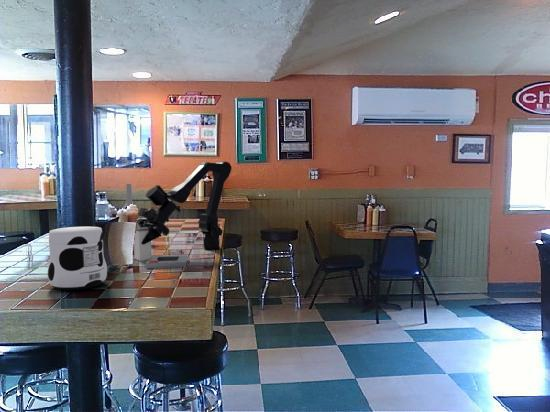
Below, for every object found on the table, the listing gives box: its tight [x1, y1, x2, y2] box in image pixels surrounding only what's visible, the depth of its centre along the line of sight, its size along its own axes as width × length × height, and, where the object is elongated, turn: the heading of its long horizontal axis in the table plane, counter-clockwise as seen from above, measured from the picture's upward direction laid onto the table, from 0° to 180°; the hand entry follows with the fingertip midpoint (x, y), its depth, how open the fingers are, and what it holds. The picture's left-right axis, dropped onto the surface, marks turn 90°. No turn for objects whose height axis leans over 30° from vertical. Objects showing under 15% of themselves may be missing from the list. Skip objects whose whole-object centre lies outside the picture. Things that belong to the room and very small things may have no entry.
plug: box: [133, 227, 153, 262], centre depth 194 cm, size 5×5×12 cm
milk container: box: [47, 226, 108, 291], centre depth 152 cm, size 17×17×18 cm
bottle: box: [122, 183, 135, 210], centre depth 245 cm, size 7×7×28 cm
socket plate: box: [145, 254, 189, 270], centre depth 185 cm, size 14×14×2 cm
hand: (139, 243), depth 193 cm, fingers closed on plug, 5 cm apart
